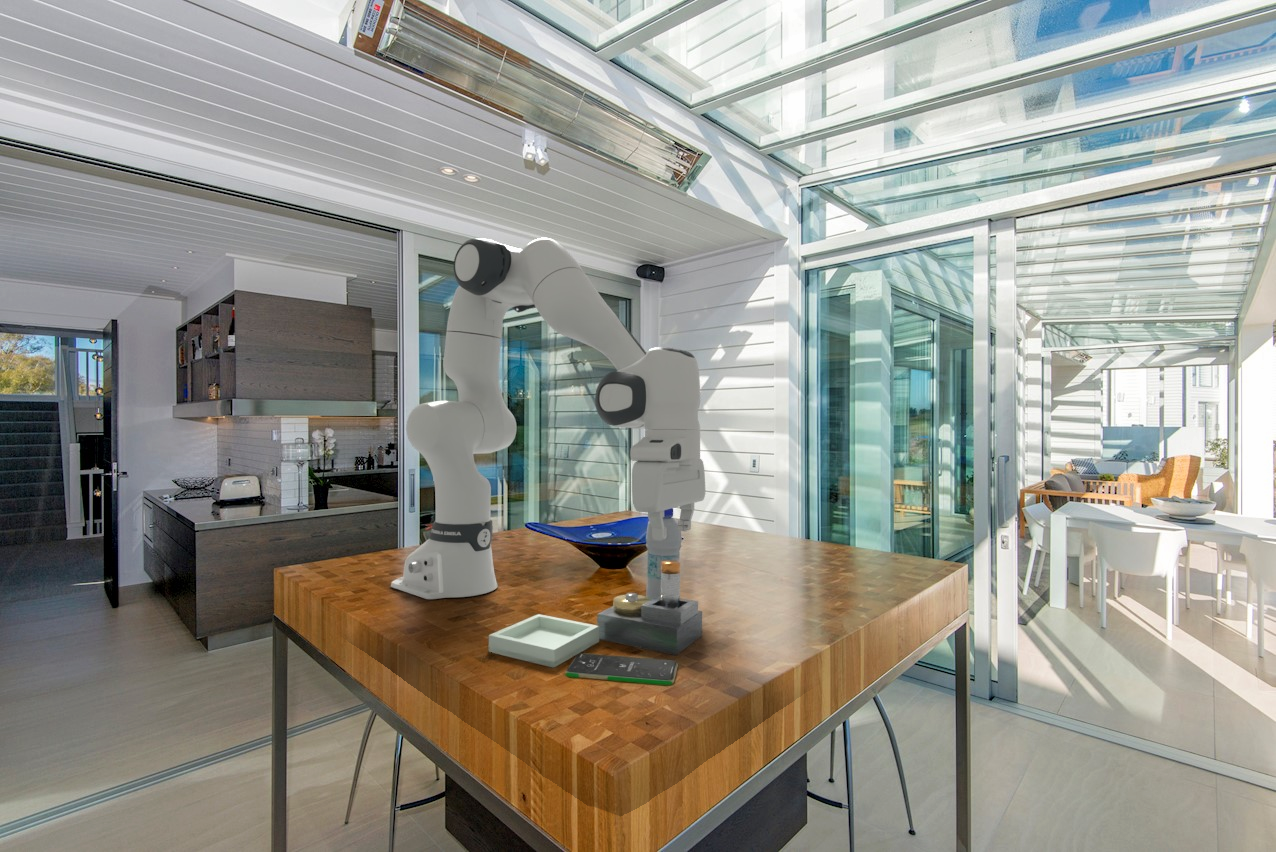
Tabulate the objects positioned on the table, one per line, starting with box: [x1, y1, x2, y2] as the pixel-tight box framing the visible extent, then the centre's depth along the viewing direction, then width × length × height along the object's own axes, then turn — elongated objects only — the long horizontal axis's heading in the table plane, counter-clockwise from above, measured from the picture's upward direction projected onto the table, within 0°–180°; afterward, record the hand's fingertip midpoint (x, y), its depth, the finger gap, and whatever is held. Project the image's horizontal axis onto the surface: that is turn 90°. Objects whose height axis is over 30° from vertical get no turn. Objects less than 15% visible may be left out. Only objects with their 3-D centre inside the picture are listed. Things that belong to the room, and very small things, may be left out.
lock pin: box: [661, 560, 681, 609], centre depth 95 cm, size 3×3×8 cm
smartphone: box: [564, 652, 679, 686], centre depth 84 cm, size 8×1×15 cm
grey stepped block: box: [596, 592, 703, 656], centre depth 97 cm, size 14×10×6 cm
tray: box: [488, 613, 600, 669], centre depth 92 cm, size 12×12×2 cm
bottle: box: [645, 508, 683, 601], centre depth 110 cm, size 7×7×20 cm
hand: (672, 535), depth 95 cm, fingers open, 8 cm apart
